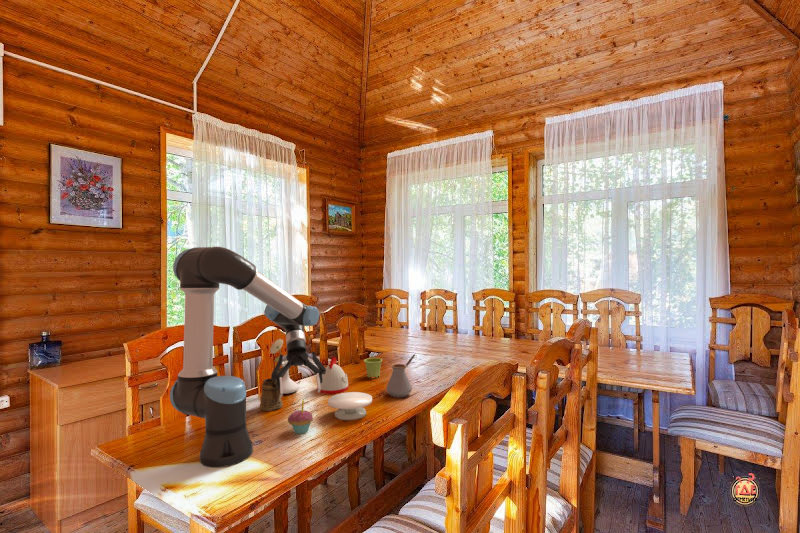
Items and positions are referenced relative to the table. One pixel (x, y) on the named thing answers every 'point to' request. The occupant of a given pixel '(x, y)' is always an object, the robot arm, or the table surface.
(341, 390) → the kitchen timer
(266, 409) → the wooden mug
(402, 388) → the coffee pot
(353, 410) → the cake stand
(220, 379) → the robot arm
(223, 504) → the table surface
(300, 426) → the cupcake
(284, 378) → the flower in vase
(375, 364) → the plant pot
